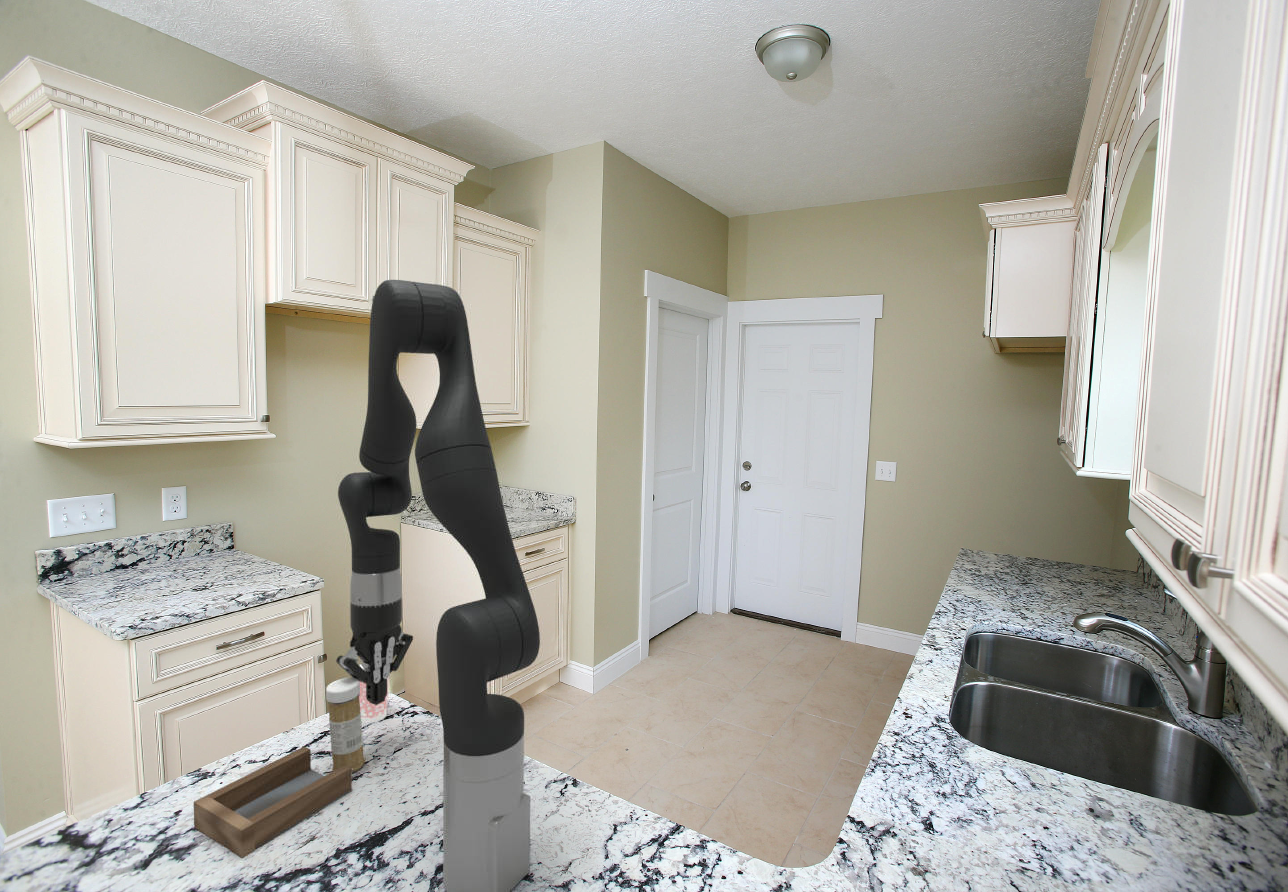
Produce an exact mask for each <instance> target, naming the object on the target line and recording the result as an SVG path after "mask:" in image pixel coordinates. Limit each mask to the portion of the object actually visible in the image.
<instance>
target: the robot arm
mask: <svg viewBox="0 0 1288 892" xmlns="http://www.w3.org/2000/svg"><path fill="white" fill-rule="evenodd" d="M374 293H375V294H374V296H373V299H372V303H371V304H372V305H371V310H370V317H369V319H370V321H369V341H368V342H369V343H368V345H369V346H368V369H367V370H368V371H367V373H368V374H367V380H368V381H367V383H368V385H367V406H366V407H367V409H366V417H365V423H364V428H363V431H362V436H361V443H360V447H359V453H358V457H359V462H360V465H361V466H362V467H363V468H364V469H365V470H367V471H368V472H367V471H365V472H364V471H362V472H359V471H358V472H352V473H349V474H347V475H345V476H344V477H343V478H342V480H340V483H339V486H338V488H337V498H338V502H339V506H340V508H341V511H342V513H343V516H344V519H345V522H346V525H347V530H348V534H349V539H350V546H351V574H350V575H351V576H350V585H349V589H350V590H349V592H350V593H349V594H350V596H349V600H350V604H349V606H350V608H349V609H350V610H349V612H350V618H349V619H350V623H349V625H350V629H351V631H352V636H351V639H350V642H349V647H350V648H349V649H348V650H347V652H346V653H344V655H338V657H337V658H336V660H335V661H336V664H337V665H339V666H340V667H341V668H342V669H343V670H344V671H345V672H346V673H347V674H348V675H349V676H350V677H351V678H356V679H358V680H359V681H360V682H363V683H365V684H366V699H367V701H369V702H370V703H372V704H374V705H377V704H380V703H382V702H384V701H385V697H386V696H387V678H388V677H389V678H390V674H391V673H392V672H396V671H398V669H399V668H400V666H401V664H402V662H403V660H404V658H405V656H406V654H407V652H408V650H409V649H410V646H411V644H412V643H413V640H414V636H413V635H411V634H408V633H406V632H403V631H402V630H403V629H402V626H401V624H402V622H403V621H402V620H403V594H402V593H403V588H402V587H403V581H402V579H403V578H402V573H401V540H400V535H399V534H398V533H397V532H396V531H395V530H392V529H391V530H390V529H384V528H374V527H371V526H370V525H369V524H368V521H367V518H371V517H383V516H393V515H399V514H401V513H404V511H406V510H407V509H408V507H409V506H410V505H411V502H412V498H413V497H412V496H413V495H412V494H413V493H412V491H413V490H412V486H411V485H412V484H411V479H410V458H411V454H412V450H413V446H414V442H415V446H414V458H415V463H416V467H417V472H418V478H419V483H420V487H421V492H422V493H421V494H422V497H423V499H424V503H425V504H426V506H427V507H428V510H429V511H430V512H431V513H432V515H433V516H434V517H435V519H437V521H438V522H439V523H440V524H441V525H442V526H443V528H444V529H445V530H446V531H447V532H448V533H449V534H450V535H451V536H452V537H453V539H455V540H456V541H457V543H459V545H460V546H461V547H462V548H463V549H464V550H465V551H466V553H467V554H468V556H469V557H470V559H471V561H472V562H473V564H474V566H475V568H476V570H477V573H478V575H479V578H480V581H481V585H482V588H483V591H484V596H485V598H482V599H477V600H473V601H470V602H466V603H462V604H459V605H455V606H452V607H450V608H448V609H447V610H446V611H444V613H442V615H441V617H440V619H439V621H438V625H437V628H436V637H435V638H436V641H435V642H436V643H435V646H436V648H435V650H436V654H435V655H436V666H437V668H436V669H437V681H438V682H437V683H438V685H437V686H438V707H439V714H440V718H441V723H442V731H443V732H442V733H443V739H442V740H443V766H442V767H443V770H442V771H443V772H442V773H443V781H442V782H443V783H442V785H443V787H442V789H443V790H442V792H443V795H442V796H443V797H442V804H443V807H442V810H443V812H442V813H443V814H442V815H443V816H442V817H443V818H442V819H443V824H442V846H443V847H442V851H443V855H442V856H443V857H442V858H443V859H442V860H443V861H442V863H443V864H442V866H443V868H442V869H443V871H442V872H443V873H442V875H443V876H442V877H443V878H442V881H443V887H444V890H445V891H446V892H511V891H512V890H513V889H514V888H515V887H516V886H517V885H518V884H519V883H520V882H521V881H522V880H523V878H525V876H527V875H528V873H529V872H530V871H531V866H530V864H531V861H530V860H531V797H530V795H529V794H527V793H524V786H525V785H524V781H525V780H524V779H525V778H524V775H525V774H524V773H525V772H524V771H525V769H524V768H525V767H524V766H525V764H524V761H525V759H524V757H525V713H524V711H525V710H524V708H523V706H522V705H521V704H520V703H519V702H518V701H517V700H515V699H513V698H511V697H508V696H506V695H503V694H497V693H488V683H489V682H492V681H495V680H498V679H500V678H503V677H506V676H508V675H511V674H513V673H516V672H519V671H522V670H524V669H526V668H528V667H530V666H531V665H533V663H535V661H536V659H537V657H538V655H539V652H540V646H541V638H540V637H541V636H540V627H539V621H538V617H537V613H536V609H535V605H534V602H533V599H532V597H531V593H530V590H529V587H528V584H527V581H526V579H525V576H524V572H523V570H522V566H521V563H520V561H519V557H518V554H517V552H516V548H515V545H514V541H513V538H512V535H511V531H510V526H509V522H508V519H507V515H506V511H505V510H506V509H505V506H504V502H503V497H502V493H501V492H502V491H501V489H500V482H499V477H498V471H497V469H496V468H497V467H496V462H495V459H494V454H493V450H492V446H491V441H490V439H489V436H488V431H487V427H486V424H485V419H484V415H483V410H482V405H481V400H480V395H479V392H478V387H477V382H476V375H475V374H476V373H475V367H474V359H473V352H472V351H473V350H472V345H471V338H470V330H469V324H468V317H467V312H466V309H465V305H464V303H463V300H462V297H461V296H460V295H459V293H458V292H457V290H455V289H454V288H453V287H450V286H447V285H442V284H436V283H433V284H432V283H425V282H418V281H411V280H402V279H386V280H383V281H382V282H381V283H380V284H379V285H378V287H377V288H376V290H375V292H374ZM400 353H401V354H404V353H405V354H428V355H431V354H433V355H434V356H435V357H436V360H437V363H438V370H439V385H438V388H437V392H436V394H435V395H436V396H435V398H434V399H433V402H432V404H431V407H430V409H429V411H428V413H427V415H426V417H425V419H424V421H423V423H422V425H421V428H420V430H419V432H418V435H417V438H416V434H417V427H418V426H417V423H418V422H417V416H416V412H415V410H414V407H413V405H412V402H411V401H410V399H409V397H408V394H407V393H406V391H405V389H404V388H403V385H402V384H401V380H400V379H399V375H398V371H397V370H398V368H397V367H398V366H397V363H398V360H399V359H398V358H399V355H400ZM415 438H416V441H415ZM359 658H360V661H359ZM359 663H360V664H359ZM359 665H362V667H363V669H362V668H361V667H360V666H359Z"/></svg>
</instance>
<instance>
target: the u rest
mask: <svg viewBox="0 0 1288 892" xmlns="http://www.w3.org/2000/svg"><path fill="white" fill-rule="evenodd" d="M311 756H312V755H311V748H308V747H307V746H303V747H302V746H301V748H298V749H296V750H294V751H292V752H290V753H288V754H287V755H284V756H282V757H281V758H278V759H276V760H275V761H272V762H271V763H269V764H266V765H265V766H262V767H260V768H258V769H257V770H255V771H253V772H250V773H248V774H246V775H245V776H242V777H240V778H238V779H237V780H235V781H232V782H231V783H228V784H226V785H225V786H222V787H220V788H218V789H217V790H214V791H213V792H210V793H208V794H206V795H205V796H202V797H200V798H198V799H197V800H194V801H193V827H194V828H195V830H197V831H199V832H201V833H202V834H204V835H205V836H207V837H208V838H210V839H212V840H213V841H214V842H216V843H218V844H219V845H221V846H223V847H224V848H226V849H227V850H229V851H231V852H232V853H234V854H235V855H237V856H238V857H239V858H242V859H243V858H244V857H246V856H248V855H250V854H251V853H253V852H255V850H258V849H260V848H261V847H263V846H264V845H266V844H267V843H270V842H271V841H272V840H274V839H276V838H277V837H279V836H280V835H282V834H284V833H285V832H287V831H290V830H291V828H293V827H295V826H297V825H299V824H300V823H301V822H303V821H305V820H306V819H308V818H310V817H311V816H313V815H315V814H316V813H318V812H319V811H322V810H323V809H325V808H326V807H328V806H330V805H332V804H333V803H335V802H336V801H338V800H340V799H341V798H343V797H345V796H346V795H348V794H349V793H351V792H352V790H353V789H352V787H353V776H352V775H353V774H352V773H353V772H352V768H351V767H349V766H347V765H343V766H341V767H340V768H338V769H336V770H334V771H333V770H332V771H331V772H329V773H327V774H326V775H323V774H321V773H319V772H317V771H314V770H312V766H311V765H312V764H311V763H312V761H311ZM342 796H343V797H342Z"/></svg>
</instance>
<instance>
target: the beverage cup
mask: <svg viewBox="0 0 1288 892" xmlns="http://www.w3.org/2000/svg"><path fill="white" fill-rule="evenodd" d="M358 665H359V666H360V667H361V668H362V669H363V667H362V665H361V664H358ZM389 678H390V676H389V677H388V678H387V696H386V697H385V701H384V702H382V703H380V704H377V705H374V704H372V703H370V702H369V701H367V699H366V684H365V683H363V682H360V681H359V684H360V695H359V700H360V711H361V722H362V723H363V724H373V723H377V722H380V721H382V720H384V719H385V718H386V717H387V711H388V696H389V695H388V694H389Z"/></svg>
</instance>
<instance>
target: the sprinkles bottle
mask: <svg viewBox="0 0 1288 892" xmlns="http://www.w3.org/2000/svg"><path fill="white" fill-rule="evenodd" d="M325 689H326V690H325V691H326V693H325V694H326V695H325V696H326V701H327V704H328V715H329V718H328V720H329V734H330V748H331V755H332V771H334V770H336V769H338V768H340V767H341V766H343V765H347V766H349V767H351V768H352V773H354V772H357V771H358V770H359V769H361V768H362V767H363V766H364V764H365V762H366V761H365V760H366V759H365V756H364V741H363V739H364V738H363V724H362V722H361V711H360V700H359V695H360V684H359V680H358V679H356V678H353V677H344V678H340V679H339V678H338V679H337V680H335V681H332V682H331V683H329V684H327V686H326V687H325Z"/></svg>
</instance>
